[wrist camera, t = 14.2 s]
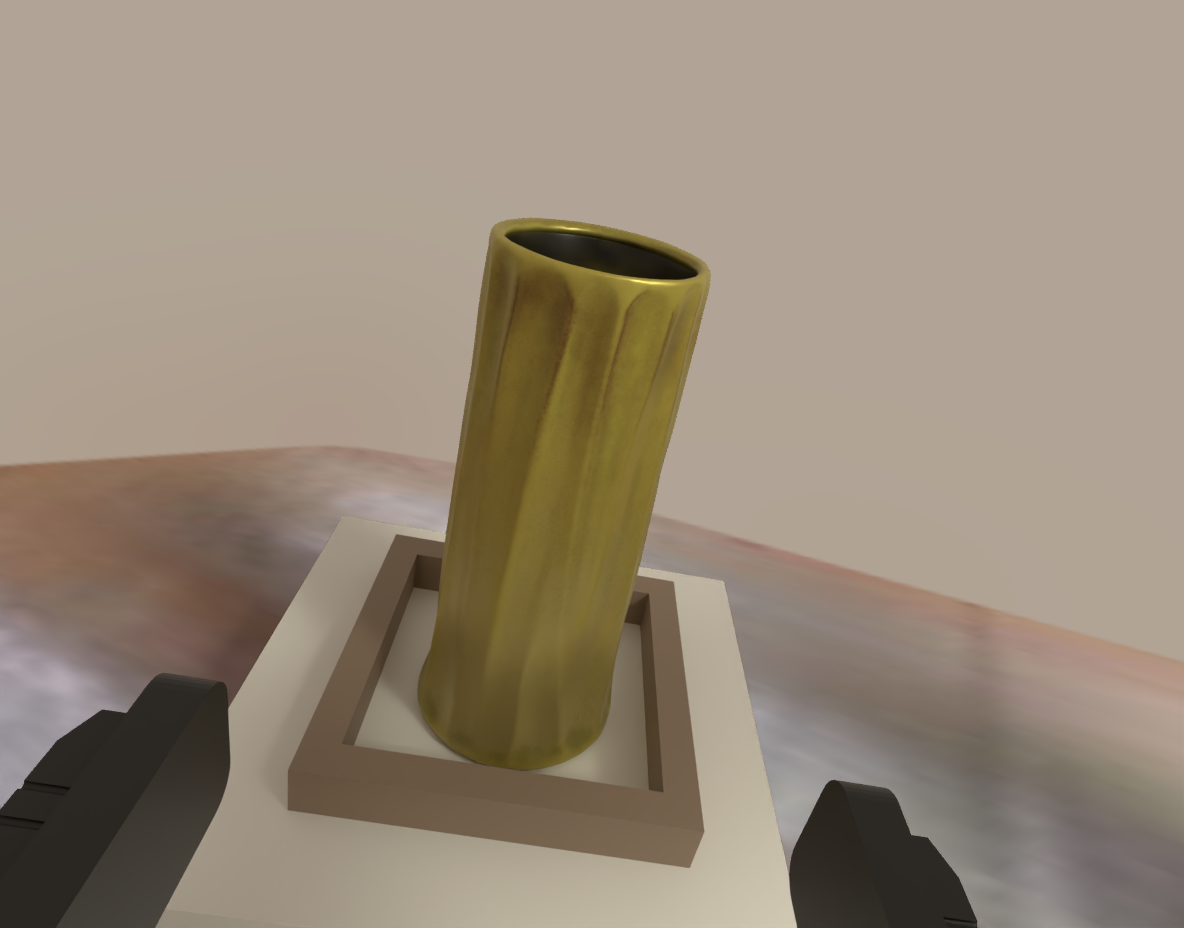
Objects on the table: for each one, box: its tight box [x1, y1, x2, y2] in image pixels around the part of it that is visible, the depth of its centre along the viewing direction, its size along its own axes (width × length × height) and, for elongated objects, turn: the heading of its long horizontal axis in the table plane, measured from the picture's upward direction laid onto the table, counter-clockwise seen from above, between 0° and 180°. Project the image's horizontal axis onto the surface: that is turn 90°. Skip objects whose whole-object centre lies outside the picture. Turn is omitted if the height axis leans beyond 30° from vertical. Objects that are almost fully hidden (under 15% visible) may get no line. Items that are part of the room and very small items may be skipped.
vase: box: [417, 218, 710, 770], centre depth 21 cm, size 6×6×14 cm
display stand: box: [155, 516, 797, 928], centre depth 25 cm, size 16×16×6 cm
